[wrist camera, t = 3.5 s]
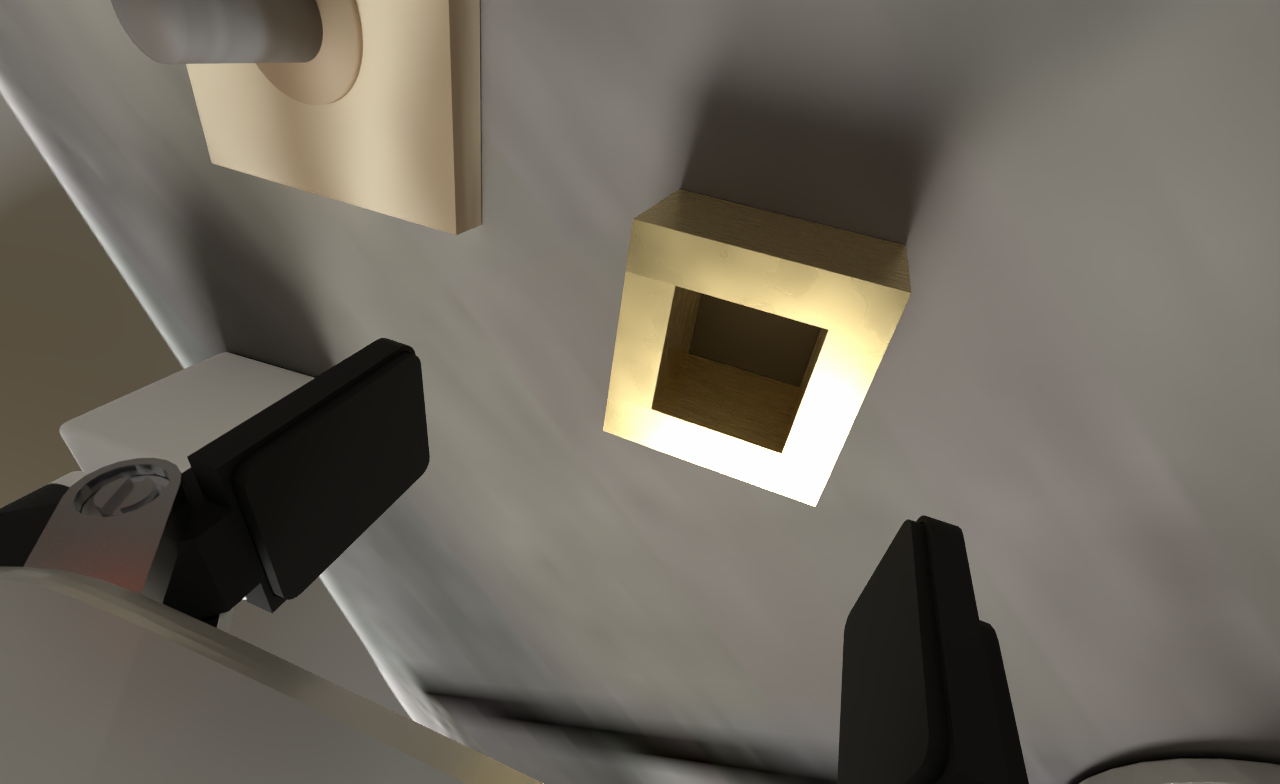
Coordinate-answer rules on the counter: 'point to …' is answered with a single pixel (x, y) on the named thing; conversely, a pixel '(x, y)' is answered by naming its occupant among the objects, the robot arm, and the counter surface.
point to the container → (168, 418)
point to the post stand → (335, 95)
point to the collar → (765, 280)
